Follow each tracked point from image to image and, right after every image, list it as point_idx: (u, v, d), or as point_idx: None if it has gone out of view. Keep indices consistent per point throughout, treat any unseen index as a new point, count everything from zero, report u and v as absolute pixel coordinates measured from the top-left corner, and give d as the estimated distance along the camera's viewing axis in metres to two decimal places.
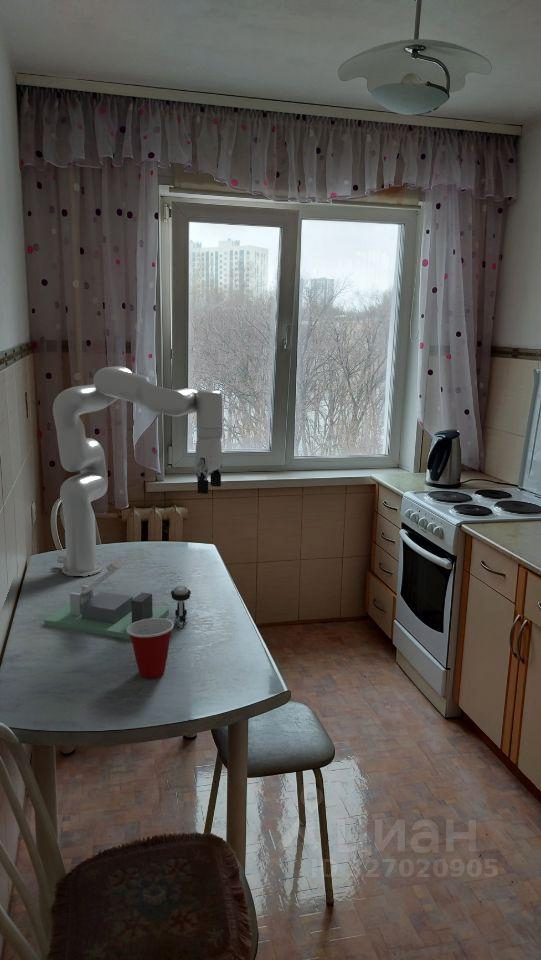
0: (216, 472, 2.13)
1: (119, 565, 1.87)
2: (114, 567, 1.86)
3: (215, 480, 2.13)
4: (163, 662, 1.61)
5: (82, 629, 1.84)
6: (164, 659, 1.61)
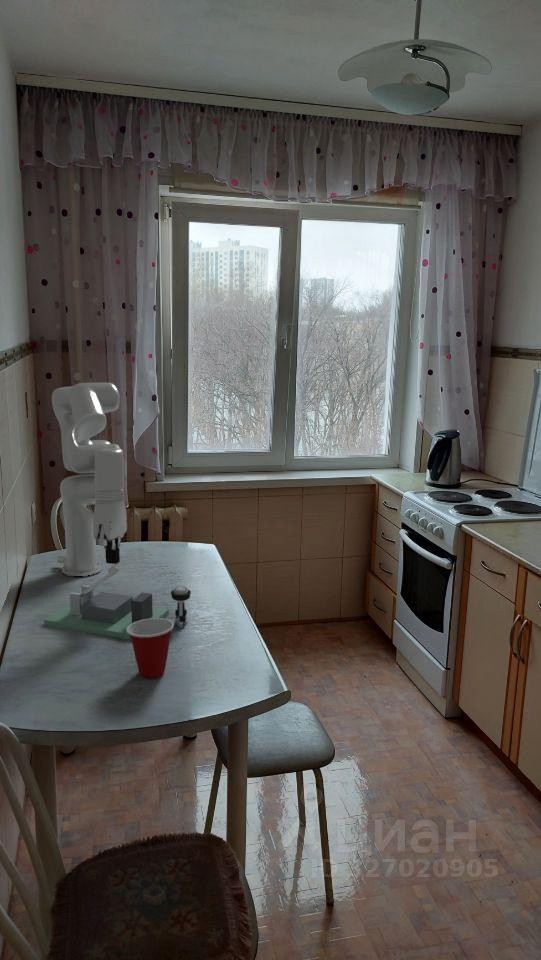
0: None
1: (121, 567, 1.87)
2: (116, 569, 1.86)
3: None
4: (163, 662, 1.61)
5: (82, 629, 1.84)
6: (164, 659, 1.61)
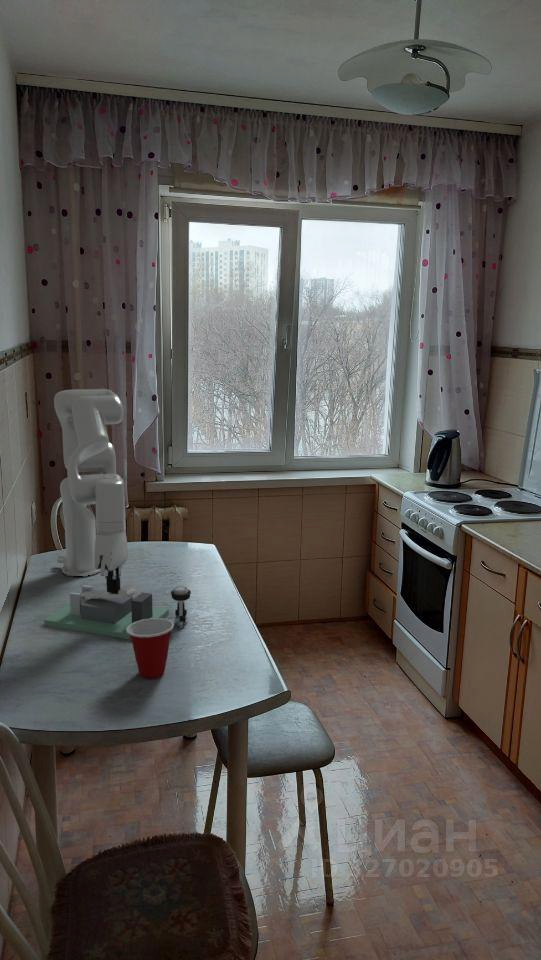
0: None
1: (131, 593, 1.88)
2: (126, 594, 1.86)
3: None
4: (163, 662, 1.61)
5: (82, 629, 1.84)
6: (164, 659, 1.61)
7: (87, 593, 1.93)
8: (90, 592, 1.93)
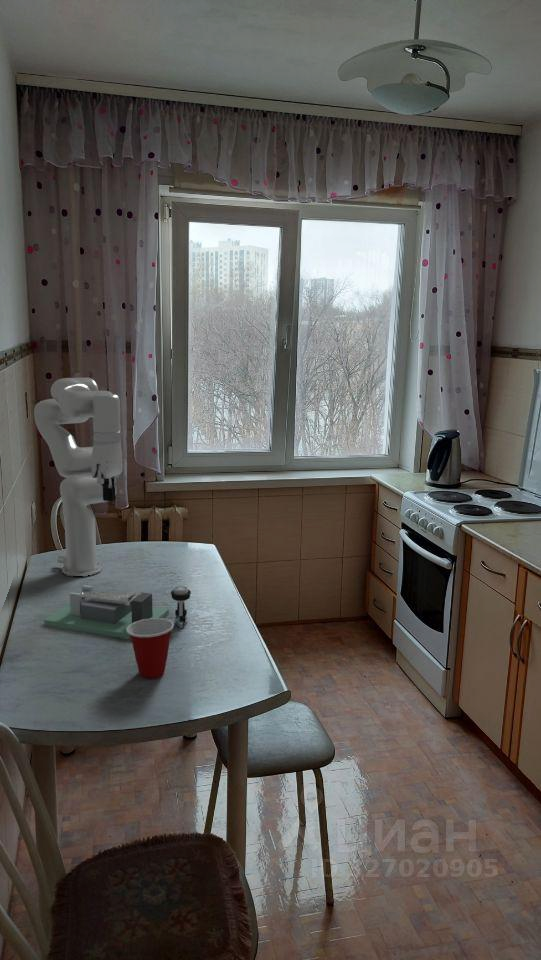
0: None
1: None
2: (128, 602, 1.87)
3: None
4: (163, 662, 1.61)
5: (82, 629, 1.84)
6: (164, 659, 1.61)
7: (87, 594, 1.93)
8: (90, 593, 1.93)
